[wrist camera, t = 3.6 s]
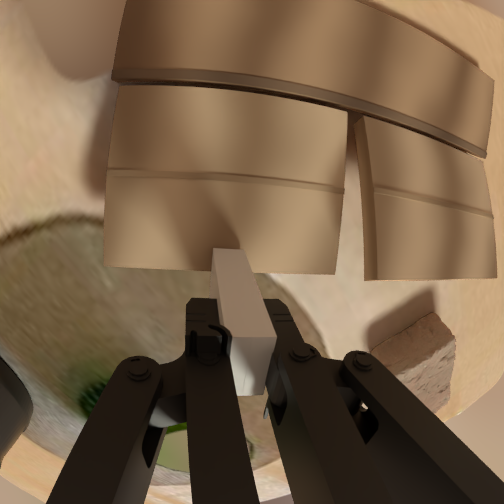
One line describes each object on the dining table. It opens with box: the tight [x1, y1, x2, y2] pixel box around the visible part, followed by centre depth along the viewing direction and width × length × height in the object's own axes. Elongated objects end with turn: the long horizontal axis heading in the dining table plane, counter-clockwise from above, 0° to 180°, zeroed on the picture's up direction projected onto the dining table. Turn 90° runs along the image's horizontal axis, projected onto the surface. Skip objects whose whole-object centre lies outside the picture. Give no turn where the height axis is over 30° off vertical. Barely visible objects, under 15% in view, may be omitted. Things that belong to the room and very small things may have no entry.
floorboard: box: [111, 0, 494, 159], centre depth 14 cm, size 26×7×2 cm, turn 82°
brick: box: [371, 313, 456, 413], centre depth 27 cm, size 17×8×5 cm, turn 26°
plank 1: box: [104, 85, 348, 275], centre depth 14 cm, size 12×9×1 cm
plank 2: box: [354, 116, 497, 281], centre depth 16 cm, size 12×9×1 cm
